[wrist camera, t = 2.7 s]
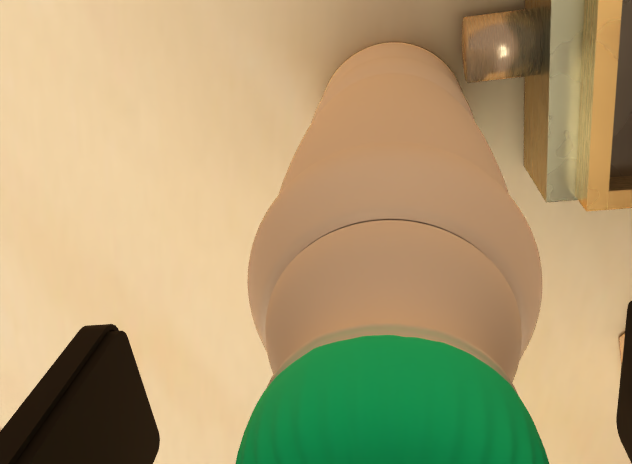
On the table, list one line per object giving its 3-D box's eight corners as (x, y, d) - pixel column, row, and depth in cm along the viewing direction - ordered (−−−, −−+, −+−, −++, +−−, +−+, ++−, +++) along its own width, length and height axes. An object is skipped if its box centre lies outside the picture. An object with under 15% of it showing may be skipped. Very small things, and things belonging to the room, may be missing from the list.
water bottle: (333, 29, 29) (127, 301, 6) (478, 52, 29) (789, 421, 6) (314, 165, 32) (130, 669, 10) (444, 187, 32) (570, 762, 9)
